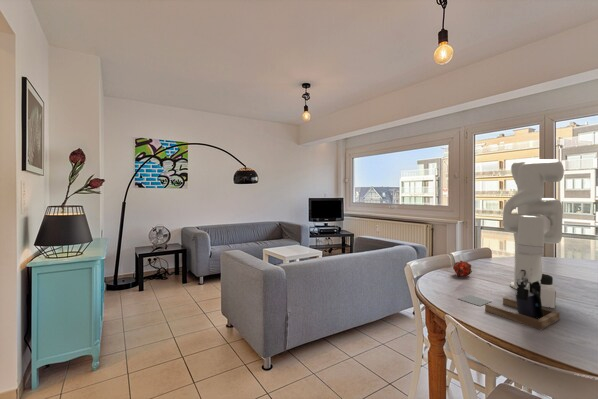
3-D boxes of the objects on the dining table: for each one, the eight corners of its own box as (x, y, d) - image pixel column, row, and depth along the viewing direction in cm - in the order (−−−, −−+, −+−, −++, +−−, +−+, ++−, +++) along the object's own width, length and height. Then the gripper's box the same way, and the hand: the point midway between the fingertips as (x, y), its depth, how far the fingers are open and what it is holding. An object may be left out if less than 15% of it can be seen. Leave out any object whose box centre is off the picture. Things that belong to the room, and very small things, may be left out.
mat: (469, 295, 129) (469, 294, 129) (491, 301, 121) (491, 301, 121) (457, 298, 124) (457, 298, 124) (479, 306, 116) (479, 305, 116)
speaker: (544, 316, 106) (541, 288, 106) (544, 323, 102) (541, 293, 102) (518, 313, 111) (515, 286, 111) (517, 319, 107) (514, 290, 107)
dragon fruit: (466, 276, 163) (461, 284, 154) (452, 265, 167) (446, 272, 158) (476, 265, 159) (472, 273, 150) (462, 255, 162) (457, 262, 154)
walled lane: (504, 303, 120) (504, 297, 119) (559, 319, 104) (559, 312, 104) (485, 310, 112) (485, 304, 112) (541, 329, 97) (541, 322, 97)
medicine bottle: (555, 308, 114) (556, 278, 114) (532, 304, 118) (532, 275, 118) (551, 302, 120) (552, 273, 120) (529, 299, 124) (530, 271, 124)
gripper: (528, 246, 113) (527, 290, 113) (506, 250, 104) (505, 298, 104) (553, 249, 107) (551, 296, 107) (531, 253, 98) (530, 305, 98)
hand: (528, 297), depth 106 cm, fingers open, 9 cm apart
